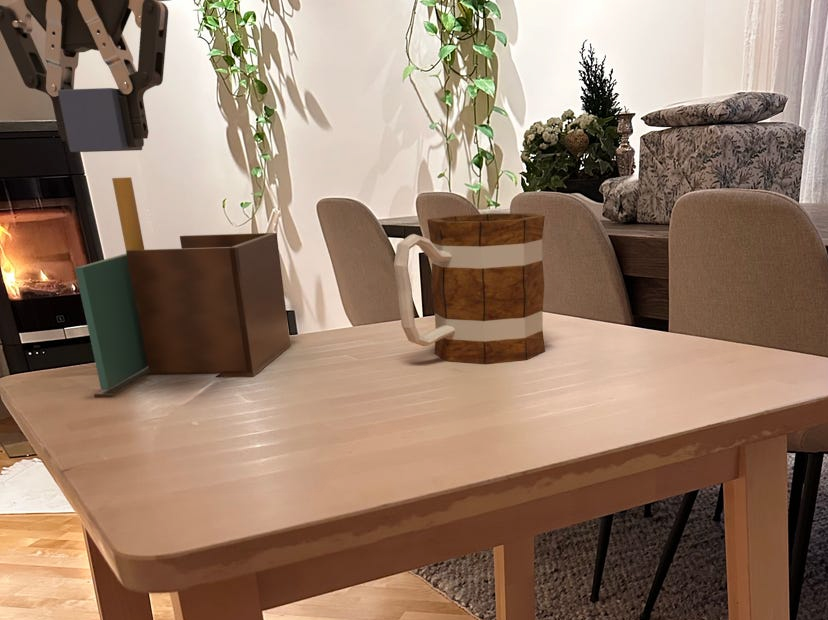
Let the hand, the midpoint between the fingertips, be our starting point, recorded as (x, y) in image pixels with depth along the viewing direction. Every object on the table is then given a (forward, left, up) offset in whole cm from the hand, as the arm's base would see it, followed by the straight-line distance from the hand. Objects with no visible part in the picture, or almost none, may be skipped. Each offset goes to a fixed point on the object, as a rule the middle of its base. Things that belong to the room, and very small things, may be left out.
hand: (106, 146), depth 80 cm
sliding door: (-9, +18, -22) cm, 30 cm away
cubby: (-3, +22, -23) cm, 32 cm away
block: (0, 0, 0) cm, 0 cm away
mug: (+28, +27, -24) cm, 46 cm away
